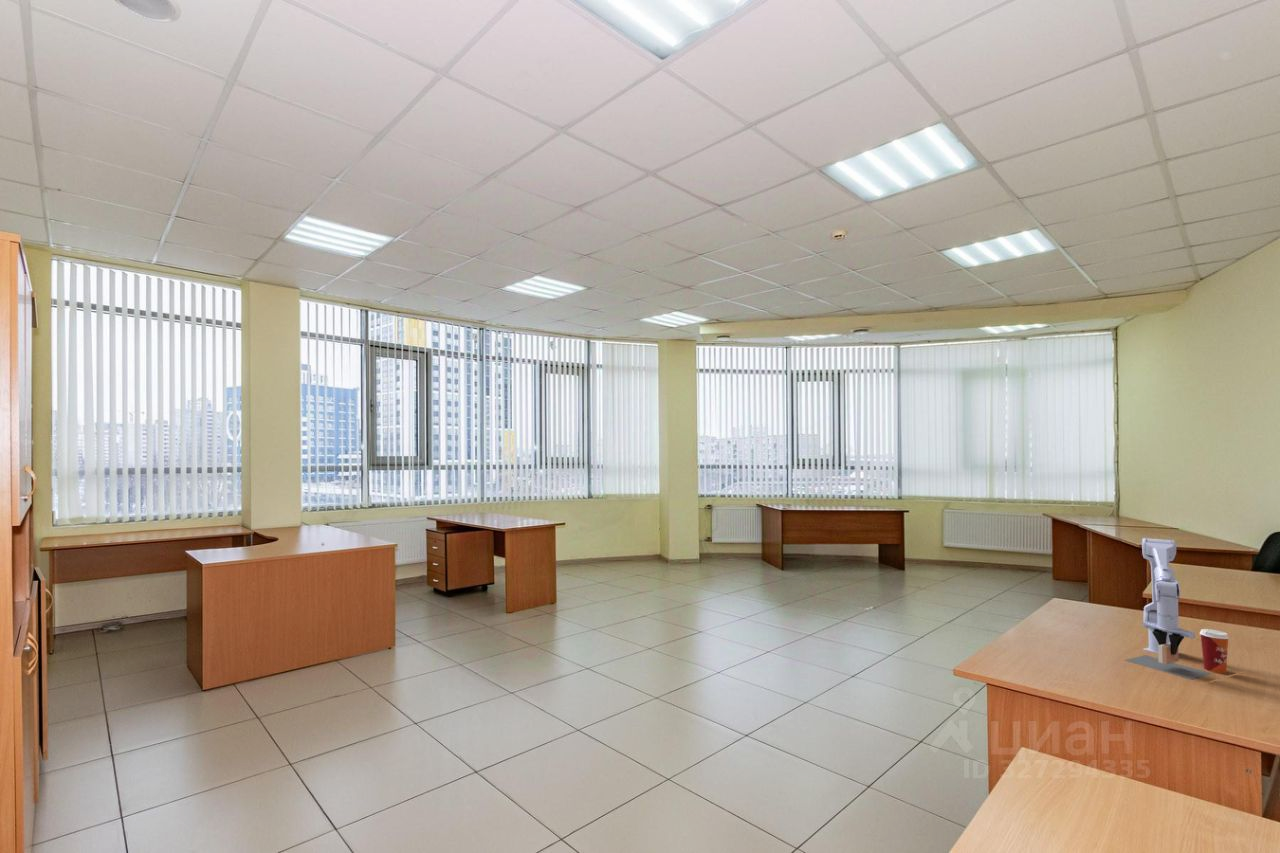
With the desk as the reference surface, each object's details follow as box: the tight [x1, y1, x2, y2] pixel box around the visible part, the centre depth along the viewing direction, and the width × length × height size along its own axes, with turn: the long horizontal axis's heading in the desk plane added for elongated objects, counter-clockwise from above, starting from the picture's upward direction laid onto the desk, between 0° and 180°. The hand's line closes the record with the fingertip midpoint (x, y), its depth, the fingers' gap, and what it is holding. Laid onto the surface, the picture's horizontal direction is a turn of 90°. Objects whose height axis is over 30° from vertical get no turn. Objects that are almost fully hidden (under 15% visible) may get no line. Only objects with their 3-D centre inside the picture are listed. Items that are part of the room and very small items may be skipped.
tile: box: [1157, 643, 1180, 664], centre depth 213 cm, size 8×2×6 cm, turn 114°
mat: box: [1124, 654, 1213, 681], centre depth 214 cm, size 14×20×1 cm
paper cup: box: [1199, 628, 1230, 674], centre depth 212 cm, size 8×8×14 cm
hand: (1168, 652), depth 213 cm, fingers closed on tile, 2 cm apart
